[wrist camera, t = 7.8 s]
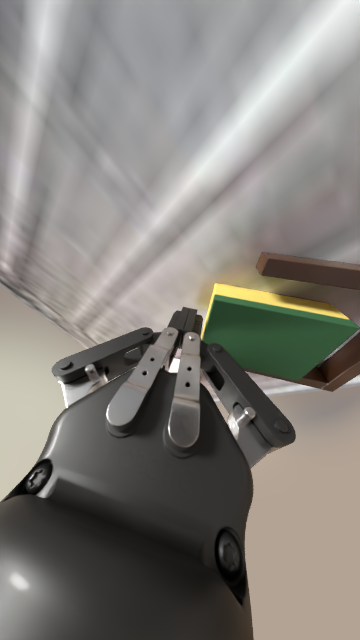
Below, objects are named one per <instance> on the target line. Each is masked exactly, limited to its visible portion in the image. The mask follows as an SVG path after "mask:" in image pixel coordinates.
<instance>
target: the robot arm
mask: <svg viewBox="0 0 360 640" xmlns="http://www.w3.org/2000/svg"><path fill="white" fill-rule="evenodd" d="M196 314H197V310H196V309H191V308H186V307H183V308H182V311H176V312H175V313H174V314H173V316H172V318H171V320H170V323H169V325H168V327H167V328H165V329H164V330H163V331H162V332H155V333H153V331H152V330H151V329H150V328H146V327H145V328H140V329H138V330H135V331H133V332H130V333H128V334H125V335H122V336H120V337H117V338H115V339H112V340H110V341H107V342H104V343H102V344H99V345H97V346H94V347H92V348H89V349H87V350H84V351H81V352H79V353H76V354H74V355H71V356H69V357H66V358H64V359H62V360H60V361H58V362H57V363H56V364H55V365H54V366H53V368H52V373H53V375H54V376H55V377H56V378H57V381H58V382H59V383H60V385H61V386H62V389H63V394H64V400H65V405H66V409H65V410H64V411H63V412H62V413H61V414H60V415H59V416H58V418H57V419H56V421H55V422H54V424H53V426H52V428H51V430H50V433H49V436H48V439H47V442H46V444H45V447H44V449H43V451H42V453H41V455H40V457H39V459H38V461H37V462H36V464H35V465H34V467H33V468H32V469H31V471H30V472H29V473H28V474H27V475H26V476H25V477H24V479H23V480H22V481H21V482H20V483H19V484H18V485H17V486H16V487H15V488H14V489H13V490H12V491H11V492H10V493H9V494H8V495H7V496H6V497H5V498H4V499H3V500H2V501H1V502H0V640H253V627H252V616H251V605H250V596H249V587H248V579H247V570H246V563H245V543H244V542H245V529H246V522H247V516H248V513H249V509H250V506H251V503H252V497H253V479H252V474H251V470H250V469H251V468H252V467H253V466H254V465H255V464H256V463H258V462H259V461H260V460H261V459H262V458H263V457H265V456H266V455H267V454H269V453H271V452H273V451H275V450H277V449H280V448H282V447H284V446H286V445H289V444H291V443H293V442H294V440H295V437H296V435H295V430H294V428H293V426H292V424H291V423H290V422H289V420H288V419H287V418H286V417H285V416H284V415H283V414H282V412H281V411H280V410H279V409H278V408H277V407H276V406H275V405H274V404H273V402H272V401H271V400H270V399H269V398H268V397H267V396H266V395H265V393H264V392H263V391H262V390H261V389H260V388H259V387H258V386H257V384H256V383H255V382H254V381H253V380H252V379H251V378H250V377H249V376H248V374H247V373H246V372H245V371H244V370H243V369H242V368H241V367H240V365H239V364H238V363H237V362H236V361H235V360H234V359H233V358H232V356H231V355H230V354H229V353H228V352H227V351H226V350H225V349H224V348H223V347H222V346H221V345H219V344H217V343H212V344H210V345H208V344H206V343H205V342H203V341H202V339H201V337H200V335H201V329H202V322H203V318H202V316H201V315H196ZM135 348H137V349H135ZM178 348H179V349H180V348H181V349H182V351H181V356H180V362H179V368H178V372H169V370H170V367H171V365H172V363H173V360H174V358H175V355H176V352H177V349H178ZM133 349H135V350H133ZM131 350H133V351H131ZM129 351H130V352H129ZM127 352H128V353H127ZM134 367H136V368H134ZM132 368H133V369H132ZM200 368H201V370H202V372H203V374H204V376H205V377H206V379H207V380H208V382H209V383H210V385H211V386H212V388H213V390H214V391H215V393H216V394H217V396H218V397H219V399H220V401H221V402H222V404H223V405H224V407H225V408H226V410H227V411H228V413H229V416H228V424H229V427H230V428H229V427H228V425H227V423H226V422H225V420H224V418H223V416H222V414H221V413H220V411H219V409H218V407H217V406H216V404H215V402H214V400H213V398H212V397H211V395H210V393H209V391H208V390H207V389H206V387H205V386H204V385H203V384H201V383H200ZM130 369H131V370H130ZM128 370H129V371H128ZM125 372H126V373H125ZM123 373H124V374H123ZM121 374H122V375H121ZM119 375H120V376H119ZM117 376H119V377H117ZM115 377H117V378H116V379H114V378H115ZM112 379H114V380H112ZM110 380H112V381H110ZM108 381H110V382H108ZM107 382H108V383H107ZM230 429H231V430H230ZM231 431H232V432H231Z"/></svg>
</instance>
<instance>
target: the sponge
mask: <svg viewBox="0 0 360 640" xmlns="http://www.w3.org/2000/svg"><path fill="white" fill-rule="evenodd" d="M359 329H360V327H358V326H357V325H356V324H355V323H354V322H352V321H351V320H349V318H347V317H346V316H345V315H344V314H342V313H341V312H340V311H339V310H337V309H336V308H335V307H334V306H332V305H331V304H329V303H323V302H318V301H312V300H307V299H301V298H296V297H290V296H284V295H279V294H273V293H268V292H262V291H257V290H251V289H246V288H240V287H235V286H229V285H224V284H218V283H215V286H214V290H213V294H212V298H211V301H210V305H209V309H208V313H207V317H206V320H205V324H204V328H203V332H202V335H201V339H202V341H203V342H205V343H206V344H208V345H210V344H212V343H217V344H219V345H221V346H222V347H223V348H224V349H225V350H226V351H227V352H228V353H229V354H230V355H231V356H232V358H233V359H234V360H235V361H236V362H237V363H238V364H239V365H240V367H243V368H247V369H251V370H255V371H259V372H264V373H268V374H272V375H276V376H280V377H284V378H288V379H292V380H296V381H299V380H300V379H301V378H302V377H303V376H305V375H306V374H307V373H308V372H309V371H310V370H312V369H313V368H314V367H315V366H316V365H318V364H319V363H320V362H321V361H322V360H323V359H325V358H326V357H327V356H328V355H329V354H330V353H332V352H333V351H334V350H335V349H336V348H337V347H339V346H340V345H341V344H342V343H343V342H345V341H346V340H347V339H348V338H349V337H350V336H352V335H353V334H354V333H355V332H356V331H357V330H359Z"/></svg>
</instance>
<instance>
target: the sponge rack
mask: <svg viewBox="0 0 360 640" xmlns="http://www.w3.org/2000/svg"><path fill="white" fill-rule="evenodd" d="M256 268H257V270H258V271H259V273H260V274H261V275H263V276H270V277H276V278H283V279H290V280H296V281H303V282H310V283H316V284H323V285H330V286H336V287H343V288H350V289H356V290H360V265H356V264H348V263H341V262H333V261H325V260H318V259H310V258H302V257H295V256H287V255H279V254H271V253H264V252H262V253H261V256H260V258H259V260H258V263H257V265H256ZM241 368H242V369H243V370H244V371H247V372H251V373H256V374H260V375H264V376H268V377H272V378H277V379H281V380H285V381H289V382H294V383H298V384H302V385H306V386H310V387H315V388H319V389H323V390H327V391H332V392H333V391H334V390H336V389H337V388H339V387H340V386H342V385H344V384H345V383H347V382H348V381H350V380H351V379H353V378H354V377H356V376H358V375H359V374H360V333H359V334H358V335H356V336H355V337H354V338H353V339H352V340H350V341H349V342H348V343H347V344H346V345H345V346H343V347H342V348H341V349H340V350H339V351H338V352H336V353H335V354H334V355H333V356H332V357H331V358H329V359H328V360H327V361H326V362H325V363H324V364H322V365H321V366H320V367H319V368H316V367H314V368H313V369H312V370H310V371H309V372H308V373H307V374H306V375H305V376H303V377H302V378H301V379H300V380H299V381H296V380H292V379H288V378H284V377H280V376H276V375H272V374H268V373H264V372H259V371H255V370H251V369H247V368H243V367H241Z"/></svg>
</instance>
